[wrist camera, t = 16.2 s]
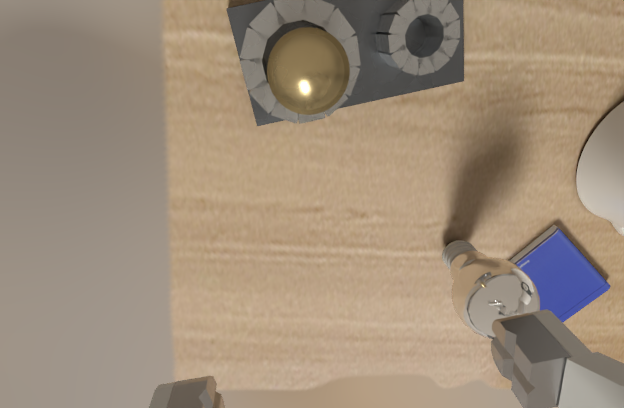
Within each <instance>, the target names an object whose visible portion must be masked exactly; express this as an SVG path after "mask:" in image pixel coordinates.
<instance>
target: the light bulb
mask: <svg viewBox="0 0 624 408" xmlns="http://www.w3.org/2000/svg"><path fill="white" fill-rule="evenodd" d="M442 259H443V261H444V263H445V264H446V266H447V267H448V268H449V270H450V273H451V276H452V279H453V285H452V302H453V306H454V309H455V311H456V313H457V315H458V317H459V318H460V319H461V321H462V322H463V323H464V324H465V325H466V326H467V327H468V328H469V329H471V330H472V331H473V332H474V333H476V334H479V335H481V336H483V337H485V338H489V339H494V338H495V336H496V335H495V334H494V332H493V331H492V323H493V321H494V320H496V319H501V318H506V317H511V316H515V315H520V314H525V313H531V312H536V311H540V297H539V292H538V289H537V287H536V285H535V283H534V281H533V280H532V278H531V277H530V276H529V275H528V274H527V273H526V272H525V271H524V270H523V269H522V268H520V267H519V266H517V265H516V264H514V263H512V262H509V261H507V260H504V259H499V258H492V257H487V256H486V255H484V254H482V253H481V252H478V251H477V250H476V249H475V248H474V247H473V246H472V245H471V244H470V243H469V242H467V241H463V240H457V241H453V242H451V243H450V244H448V245H447V246H446V248H445V249H444V250H443V253H442Z"/></svg>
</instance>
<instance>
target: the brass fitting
mask: <svg viewBox="0 0 624 408" xmlns="http://www.w3.org/2000/svg"><path fill="white" fill-rule="evenodd" d="M349 76H350V67H349V60H348V57H347V54H346V52H345V50H344V48H343V46H342V45H341V43H340V42H339V41H338V40H337V39H336V38H335V37H334V36H333V35H331V34H330V33H328V32H326V31H324V30H321V29H318V28H312V27H303V28H298V29H294V30H292V31H290V32H288V33H286V34H285V35H283V36H282V37H281V38H280V39H279V40H278V41H277V42H276V44H275V45H274V47H273V49H272V51H271V53H270V56H269V60H268V65H267V78H268V83H269V86H270V89H271V91H272V93H273V95H274V96H275V98H276V99H277V100H278V101H279V102H280V103H281V104H282V105H283V106H284V107H285V108H287V109H289V110H290V111H292V112H295V113H298V114H303V115H313V114H318V113H322V112H324V111H326V110H328V109H330V108H331V107H332V106H334V105H335V104H336V103H337V102H338V101H339V100H340V98H341V97H342V96H343V94H344V92H345V90H346V88H347V85H348V82H349Z"/></svg>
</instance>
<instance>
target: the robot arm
mask: <svg viewBox="0 0 624 408" xmlns="http://www.w3.org/2000/svg"><path fill="white" fill-rule="evenodd" d="M576 184H577V191H578V195H579V197H580V199H581V201H582V203H583V205H584V206H585V207H586V208H587V209H588V210H589V211H590V212H592V213H593V214H595V215H597V216H599V217H601V218H604V219H606V220H608V221H610V222H611V223H612V224H613V226H614V228H615V229H616V230H617V232H618V233H619V234H621V235H623V236H624V101H623V102H622V103H621V104H619V105H618V106H617V107H616V108H615V109H613V110H612V111H611V112H610V113H609V114H608V115H607V116H606V117H605V118H604V119H603V121H602V122H601V123H600V124H599V125H598V127H597V128H596V129H595V131H594V132H593V134H592V135H591V137H590V138H589V140H588V142H587V144H586V145H585V147H584V150H583V152H582V155H581V157H580V160H579V164H578V168H577V176H576ZM492 331H493V332H494V334H495V335H496V336H495V338H494V339H493V340H492V341H491V352H492V355H493V359H494V362H495V364H496V366H497V368H498V370H499V371H500V373H501V374H502V376H504V377H505V378H507V379H509V380H511V381H512V389H511V390H512V391H513V393H514V394H515V396H516V397H517V399H518V400H519V402H520V403H521V405H522V406H523V408H551V407H558V408H624V364H623V363H621V362H619V361H617V360H614V359H612V358H610V357H608V356H606V355H603V354H601V353H599V352H596V353H592V352H591V351H590V350H589V349H588V348H587V347H586V346H585V345H584V344H583V343H582V342H581V341H580V340H579V339H578V338H577V337H576V336H575V335H574V334H573V333H572V332H571V331H570V330H569V329H568V328H567V327H566V326H565V325H564V324H563V323H562V322H561V321H560V320H559V319H558V318H557V317H556V316H555V315H554V314H553V313H552V312H551V311H549V310H547V309H546V310H541V311H536V312H531V313H525V314H520V315H515V316H511V317H506V318H501V319H496V320H494V321H493V323H492ZM216 385H217V384H216V381H215V379H214V377H213V376H207V377H201V378H195V379H189V380H183V381H177V382H172V383H167V384H161V385H159V386H158V387H157V388H156V390H155V392H154V394H153V397H152V400H151V404H150V406H149V408H225V406H224V401H223V399H222V396H221V394H219V393H218V392H216Z"/></svg>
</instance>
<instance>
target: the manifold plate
mask: <svg viewBox="0 0 624 408" xmlns="http://www.w3.org/2000/svg"><path fill="white" fill-rule="evenodd" d="M227 13H228V17H229V20H230V24H231V28H232V32H233V36H234V39H235V43H236V47H237V51H238V55H239V58H240V64H241V68H242V71H243V75H244V79H245V83H246V87H247V90H248V93H249V96H250V100H251V104H252V108H253V112H254V115H255V119H256V123H257V126H260V125H265V124H269V123H274V122H278V121H283V120H287V121H290V122H293V123H297V120H299V123H305V122H310V121H314V120H319V119H323V118H325V113H326V115H327V116H329V115H331V114H332V113H333V112H334V111H335V110H336V109H338V108H343V107H347V106H352V105H356V104H361V103H366V102H370V101H375V100H379V99H384V98H388V97H393V96H398V95H402V94H407V93H411V92H416V91H420V90H425V89H430V88H434V87H439V86H443V85H448V84H453V83H457V82H462V81H464V39H463V0H264V1H260V2H255V3H250V4H246V5H241V6H237V7H232V8H227ZM303 27H312V28H318V29H321V30H324V31H326V32H328V33H330V34H331V35H333V36H334V37H335V38H336V39H337V40H338V41H339V42H340V43H341V45H342V46H343V48H344V50H345V52H346V54H347V57H348V60H349V67H350V76H349V82H348V85H347V88H346V90H345V92H344V94H343V96H342V97H341V98H340V100H339V101H338V102H337V103H336V104H335V105H334V106H332V107H331V108H330V109H328V110H326V111H324V112H325V113H324V112H322V113H318V114H313V115H303V114H298V113H295V112H292V111H290V110H289V109H287V108H285V107H284V106H283V105H282V104H281V103H280V102H279V101H278V100H277V99H276V98H275V96H274V95H273V93H272V91H271V89H270V86H269V83H268V78H267V65H268V60H269V56H270V53H271V51H272V49H273V47H274V45H275V44H276V42H277V41H278V40H279V39H280V38H281V37H282V36H283V35H285V34H286V33H288V32H290V31H292V30H294V29H298V28H303Z"/></svg>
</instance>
